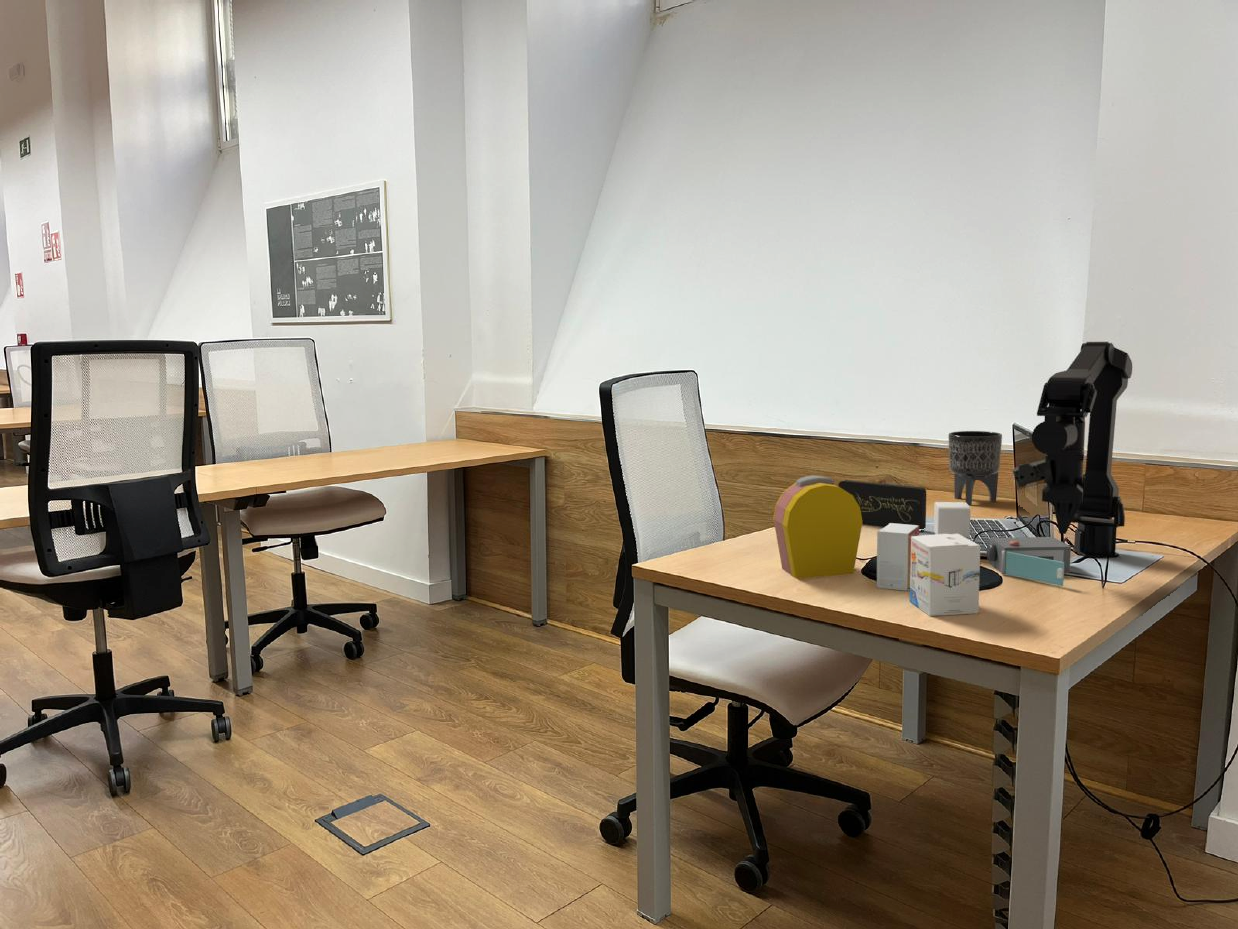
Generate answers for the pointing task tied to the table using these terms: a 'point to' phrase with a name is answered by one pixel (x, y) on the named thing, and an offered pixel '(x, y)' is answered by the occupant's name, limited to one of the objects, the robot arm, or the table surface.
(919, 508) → the nameplate
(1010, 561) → the side door
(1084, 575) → the table surface
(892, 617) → the table surface
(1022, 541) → the box
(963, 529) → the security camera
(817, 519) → the yellow arched block
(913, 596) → the ink box
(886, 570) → the small box
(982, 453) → the planter
